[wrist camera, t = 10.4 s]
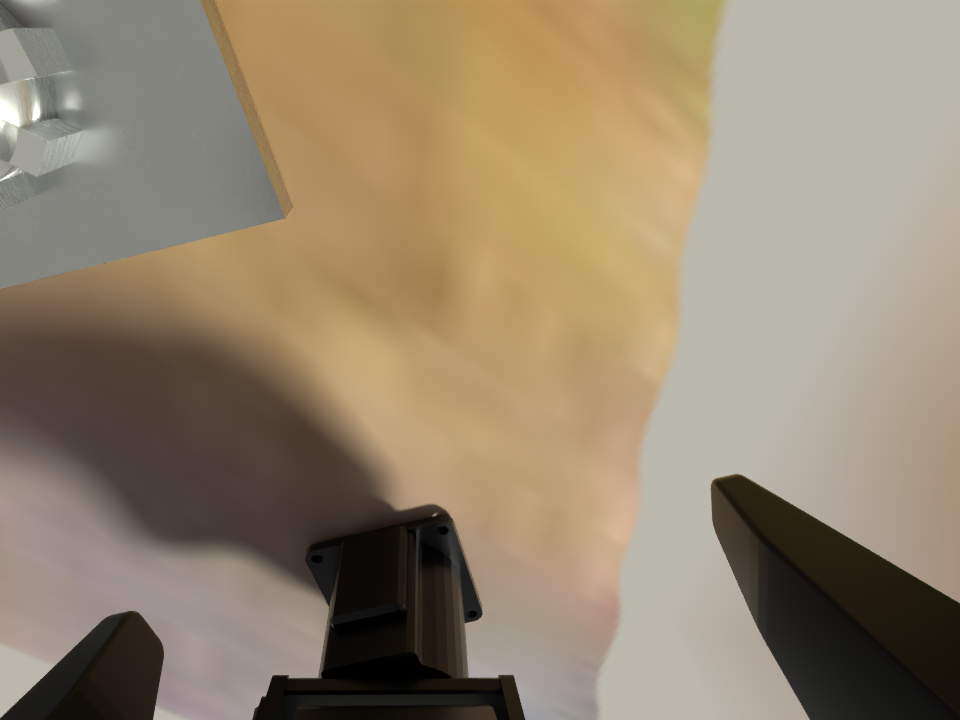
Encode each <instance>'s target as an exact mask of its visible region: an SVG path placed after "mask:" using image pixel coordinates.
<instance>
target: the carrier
mask: <svg viewBox="0 0 960 720" xmlns="http://www.w3.org/2000/svg"><path fill="white" fill-rule="evenodd" d="M292 208H293V207H292V205H291V202H290V199H289V197H288V194H287V191H286V189H285V186H284V184H283V181H282V178H281V176H280V173H279V170H278V168H277V165H276V163H275V160H274V157H273V155H272V152H271V149H270V147H269V144H268V141H267V139H266V136H265V134H264V131H263V128H262V126H261V123H260V120H259V118H258V115H257V113H256V110H255V107H254V105H253V102H252V99H251V97H250V94H249V92H248V89H247V86H246V84H245V81H244V78H243V76H242V73H241V70H240V68H239V65H238V63H237V60H236V57H235V55H234V52H233V49H232V47H231V44H230V42H229V39H228V36H227V34H226V31H225V28H224V26H223V23H222V21H221V18H220V15H219V13H218V10H217V7H216V5H215V2H214V0H0V289H2V288H6V287H10V286H14V285H18V284H22V283H26V282H30V281H34V280H38V279H42V278H46V277H50V276H54V275H59V274H63V273H67V272H71V271H75V270H79V269H83V268H87V267H91V266H95V265H99V264H103V263H107V262H111V261H115V260H119V259H123V258H127V257H131V256H135V255H139V254H143V253H147V252H151V251H155V250H159V249H163V248H167V247H171V246H175V245H179V244H183V243H187V242H191V241H195V240H199V239H203V238H208V237H212V236H216V235H220V234H224V233H228V232H232V231H236V230H240V229H244V228H248V227H252V226H256V225H260V224H264V223H268V222H272V221H276V220H280V219H284V218H286V216H287V215H288V214H289V212H290V211H291V209H292Z"/></svg>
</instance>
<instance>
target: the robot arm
mask: <svg viewBox="0 0 960 720" xmlns="http://www.w3.org/2000/svg"><path fill="white" fill-rule="evenodd" d="M711 500H712V521H713V525H714V529H715V532H716V535H717V537H718V539H719V542H720V544H721V546H722V548H723V551H724V553H725V555H726V557H727V560H728V562H729V564H730V567H731V569H732V571H733V573H734V576H735V578H736V580H737V582H738V585H739V587H740V589H741V592H742V594H743V596H744V598H745V601H746V603H747V605H748V607H749V610H750V612H751V614H752V616H753V619H754V621H755V623H756V625H757V627H758V629H759V631H760V633H761V635H762V637H763V639H764V640H765V642H766V644H767V646H768V648H769V649H770V651H771V653H772V655H773V656H774V658H775V660H776V661H777V663H778V665H779V667H780V668H781V670H782V672H783V674H784V675H785V677H786V679H787V680H788V682H789V684H790V686H791V687H792V689H793V691H794V693H795V694H796V696H797V698H798V700H799V701H800V703H801V705H802V706H803V708H804V710H805V712H806V713H807V715H808V717H809V719H810V720H960V603H959V602H957V601H955V600H953V599H951V598H950V597H948V596H946V595H945V594H943V593H942V592H940V591H938V590H936V589H934V588H933V587H931V586H930V585H928V584H926V583H924V582H923V581H921V580H919V579H918V578H916V577H914V576H913V575H911V574H909V573H908V572H906V571H904V570H902V569H900V568H899V567H897V566H896V565H894V564H892V563H891V562H889V561H887V560H886V559H884V558H882V557H880V556H879V555H877V554H875V553H874V552H872V551H870V550H869V549H867V548H865V547H863V546H862V545H860V544H858V543H857V542H855V541H853V540H852V539H850V538H848V537H846V536H845V535H843V534H841V533H840V532H838V531H836V530H835V529H833V528H831V527H829V526H828V525H826V524H824V523H823V522H821V521H819V520H818V519H816V518H814V517H813V516H811V515H809V514H807V513H806V512H804V511H802V510H801V509H799V508H797V507H796V506H794V505H792V504H790V503H789V502H787V501H785V500H784V499H782V498H780V497H779V496H777V495H775V494H773V493H772V492H770V491H768V490H767V489H765V488H763V487H762V486H760V485H758V484H756V483H755V482H753V481H751V480H750V479H748V478H746V477H745V476H742V475H739V474H734V475H729V476H725V477H720V478H716V479H714V480H713V481H712V484H711ZM440 526H445V528H439V527H440ZM315 555H320V556H315ZM305 560H306V563H307V565H308V567H309V569H310V570H311V572H312V574H313V576H314V578H315V580H316V582H317V584H318V586H319V588H320V590H321V591H322V593H323V595H324V597H325V599H326V601H327V603H328V605H329V607H330V608H329V614H328V620H327V626H326V633H325V639H324V645H323V652H322V658H321V664H320V670H319V677H318V678H289V675H273V677H272V679H271V682H270V686H269V689H268V692H267V695H266V697H262V698H261V701H260V704H259V706H258V707H257V708H255V711H254V715H253V719H252V720H525V717H524V713H523V709H522V706H521V702H520V698H519V694H518V691H517V687H516V683H515V679H514V676H513V675H499V676H498V678H469V676H468V662H467V648H466V634H465V623H467V622H472V621H476V620H478V619H479V618H481V616H482V605H481V602H480V599H479V596H478V593H477V590H476V587H475V584H474V581H473V578H472V575H471V572H470V569H469V566H468V563H467V560H466V557H465V554H464V551H463V548H462V545H461V542H460V539H459V536H458V533H457V530H456V527H455V524H454V521H453V519H452V518H451V517H449V516H446V515H439V516H435V517H430V518H426V519H422V520H417V521H413V522H408V523H404V524H400V525H395V526H391V527H387V528H382V529H378V530H373V531H369V532H365V533H360V534H356V535H352V536H347V537H343V538H338V539H334V540H330V541H325V542H321V543H317V544H313V545H311V546H310V547H309V548H308V549H307V552H306V557H305ZM472 610H473V611H472ZM163 659H164V650H163V645H162V643H161V641H160V639H159V638H158V637H157V635H156V634H155V633H154V631H153V630H152V629H151V627H150V626H149V625H148V623H147V622H146V621H145V620H144V618H143V617H142V616H141V615H140V614H139V613H138V612H135V611H128V612H123V613H119V614H115V615H111V616H108V617H106V618H105V619H104V620H102V621H101V622H100V623H99V624H98V625H97V626H96V627H95V628H94V629H93V630H92V631H91V632H90V633H89V634H88V635H87V636H86V637H85V638H84V639H83V640H81V641H80V642H79V643H78V644H77V645H76V646H75V647H74V648H73V649H72V650H71V651H70V652H69V653H68V654H67V655H66V656H65V657H64V658H63V659H62V660H61V661H60V662H58V663H57V664H56V665H55V666H54V667H53V668H52V669H51V670H50V671H49V672H48V673H47V674H46V675H45V676H44V677H43V678H42V679H41V680H40V681H39V682H38V683H37V684H36V685H35V686H33V687H32V688H31V690H30V691H28V692H27V693H26V694H25V695H24V696H23V697H22V698H21V699H20V700H19V701H18V702H17V703H16V704H15V705H14V706H13V707H12V708H10V709H9V710H8V711H7V712H6V713H5V714H4V715H3V716H2V717H1V718H0V720H153V716H154V710H155V705H156V699H157V693H158V688H159V682H160V676H161V671H162V665H163Z"/></svg>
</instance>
